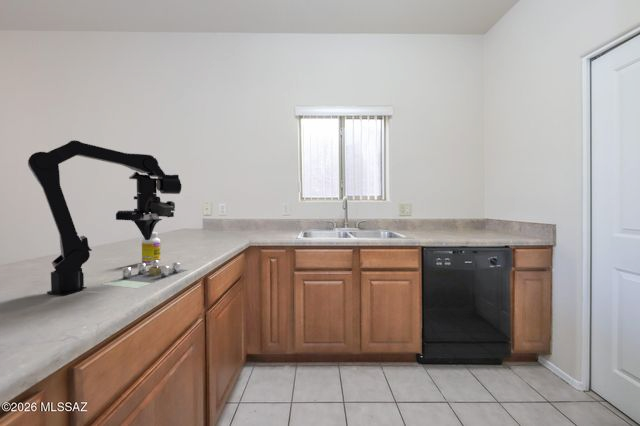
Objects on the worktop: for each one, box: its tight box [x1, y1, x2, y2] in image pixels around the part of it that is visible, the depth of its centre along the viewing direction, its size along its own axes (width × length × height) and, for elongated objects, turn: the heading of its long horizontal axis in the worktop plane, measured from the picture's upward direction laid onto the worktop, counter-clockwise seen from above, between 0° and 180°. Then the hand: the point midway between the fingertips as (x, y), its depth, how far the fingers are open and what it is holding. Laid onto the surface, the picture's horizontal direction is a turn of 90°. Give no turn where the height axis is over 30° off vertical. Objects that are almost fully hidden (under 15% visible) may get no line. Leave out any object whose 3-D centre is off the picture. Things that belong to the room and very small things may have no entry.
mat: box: [101, 267, 188, 289], centre depth 100 cm, size 23×13×1 cm, turn 166°
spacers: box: [121, 260, 181, 279], centre depth 102 cm, size 14×12×4 cm
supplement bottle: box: [141, 231, 162, 266], centre depth 121 cm, size 7×7×13 cm
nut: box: [148, 265, 161, 276], centre depth 103 cm, size 4×5×2 cm
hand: (147, 239), depth 99 cm, fingers closed
